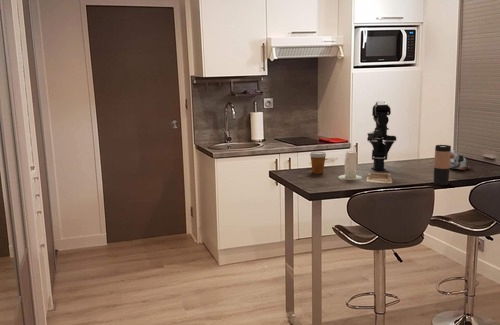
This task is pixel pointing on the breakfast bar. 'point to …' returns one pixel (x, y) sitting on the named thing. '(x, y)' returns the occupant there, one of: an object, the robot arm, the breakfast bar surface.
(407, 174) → the breakfast bar surface
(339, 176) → the mat
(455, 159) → the lucky cat figurine
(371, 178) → the wooden tray
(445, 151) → the travel mug
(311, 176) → the breakfast bar surface
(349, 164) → the jug
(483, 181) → the breakfast bar surface
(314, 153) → the disposable coffee cup
